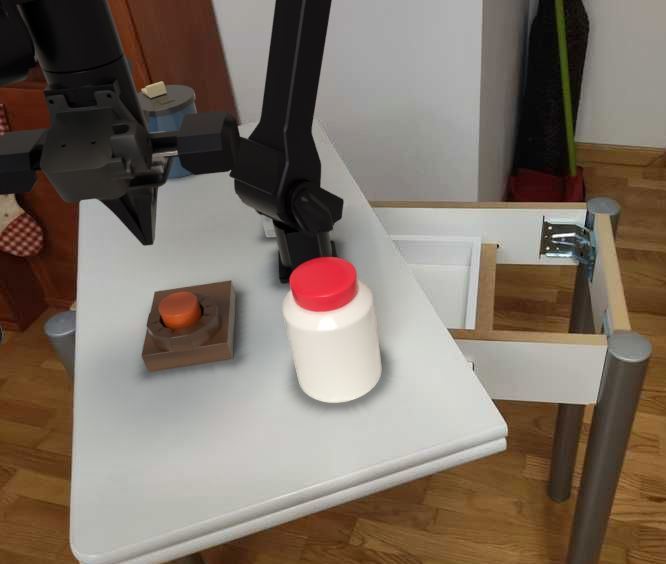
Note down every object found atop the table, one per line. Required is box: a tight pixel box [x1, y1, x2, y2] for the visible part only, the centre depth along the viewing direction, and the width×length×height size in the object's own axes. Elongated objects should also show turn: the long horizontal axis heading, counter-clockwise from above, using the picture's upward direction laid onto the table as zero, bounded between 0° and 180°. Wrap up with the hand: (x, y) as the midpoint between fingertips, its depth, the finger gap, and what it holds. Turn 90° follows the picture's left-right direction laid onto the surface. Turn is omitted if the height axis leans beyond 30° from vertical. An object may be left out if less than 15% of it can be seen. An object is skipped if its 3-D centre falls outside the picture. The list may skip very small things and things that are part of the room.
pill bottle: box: [281, 257, 383, 404], centre depth 57 cm, size 8×8×11 cm
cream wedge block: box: [140, 80, 167, 98], centre depth 90 cm, size 3×2×2 cm
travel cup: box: [137, 84, 199, 179], centre depth 92 cm, size 9×9×10 cm
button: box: [158, 292, 202, 329], centre depth 62 cm, size 4×4×2 cm
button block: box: [141, 280, 237, 373], centre depth 65 cm, size 10×8×4 cm
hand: (149, 242), depth 57 cm, fingers closed
